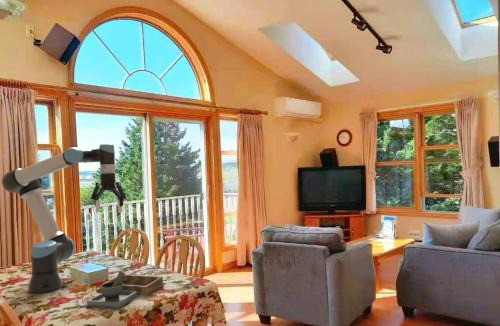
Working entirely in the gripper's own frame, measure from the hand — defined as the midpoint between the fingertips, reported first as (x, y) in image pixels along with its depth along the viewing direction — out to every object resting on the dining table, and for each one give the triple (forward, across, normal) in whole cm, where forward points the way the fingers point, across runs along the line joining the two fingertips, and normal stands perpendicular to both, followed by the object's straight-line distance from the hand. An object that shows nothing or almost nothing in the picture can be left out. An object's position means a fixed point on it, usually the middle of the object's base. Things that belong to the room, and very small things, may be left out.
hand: (109, 212), depth 210 cm
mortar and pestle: (+36, +20, -28) cm, 50 cm away
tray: (+37, +20, -28) cm, 50 cm away
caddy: (+37, +20, -10) cm, 43 cm away
